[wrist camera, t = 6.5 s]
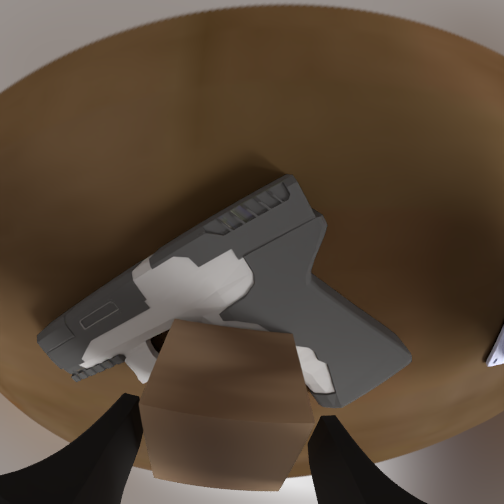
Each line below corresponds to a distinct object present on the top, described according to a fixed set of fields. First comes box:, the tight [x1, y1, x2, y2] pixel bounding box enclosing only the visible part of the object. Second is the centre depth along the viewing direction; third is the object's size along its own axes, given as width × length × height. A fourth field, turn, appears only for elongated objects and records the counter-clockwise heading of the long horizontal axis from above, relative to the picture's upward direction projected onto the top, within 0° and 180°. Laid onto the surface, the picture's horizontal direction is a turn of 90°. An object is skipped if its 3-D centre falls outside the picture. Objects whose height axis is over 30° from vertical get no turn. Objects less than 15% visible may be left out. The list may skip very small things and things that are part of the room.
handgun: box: [37, 174, 412, 408], centre depth 14 cm, size 2×18×12 cm
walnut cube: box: [139, 319, 315, 491], centre depth 10 cm, size 5×5×5 cm
